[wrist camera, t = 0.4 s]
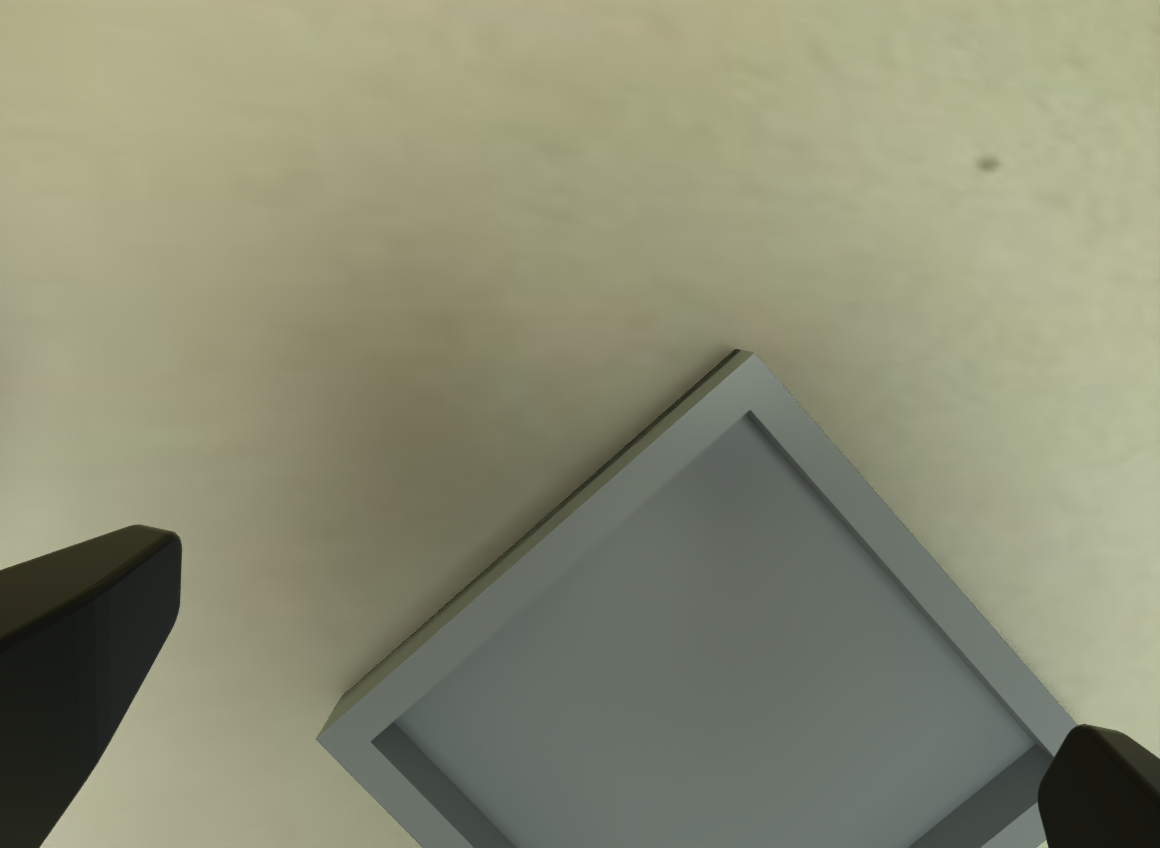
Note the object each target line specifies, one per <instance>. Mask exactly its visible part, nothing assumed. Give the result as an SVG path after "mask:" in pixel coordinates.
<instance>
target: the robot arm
mask: <svg viewBox="0 0 1160 848" xmlns="http://www.w3.org/2000/svg"><path fill="white" fill-rule="evenodd" d="M181 562H182V544H181V540H180V537H179V536H178V535H177V534H176V533H175V532H173V531H168V530H163V529H159V528H154V527H149V526H145V525H131V526H128V527H125V528H122V529H119V530H116V531H114V532H111V533H108V534H105V535H102V536H99V537H96V538H93V539H90V540H87V541H84V542H81V543H79V544H76V545H73V546H70V547H67V548H64V549H61V550H58V551H55V552H52V553H49V554H46V555H44V556H41V557H38V558H35V559H32V560H29V561H26V562H23V563H20V564H17V565H14V566H11V567H8V568H6V569H3V570H0V848H40V846H41V845H42V843H43V842H44V840H45V839H46V838H47V836H48V835H49V833H50V832H51V830H52V829H53V828H54V826H55V825H56V823H57V822H58V820H59V819H60V818H61V816H62V815H63V813H64V812H65V810H66V809H67V808H68V806H69V805H70V803H71V802H72V800H73V799H74V798H75V796H76V795H77V793H78V792H79V790H80V789H81V788H82V786H83V785H84V783H85V782H86V780H87V779H88V777H89V776H90V774H91V772H92V771H93V769H94V768H95V766H96V765H97V763H98V762H99V760H100V758H101V757H102V755H103V753H104V751H105V750H106V748H107V746H108V745H109V743H110V741H111V739H112V737H113V736H114V734H115V732H116V730H117V728H118V727H119V725H120V723H121V721H122V719H123V717H124V716H125V714H126V712H127V710H128V708H129V706H130V705H131V703H132V701H133V699H134V697H135V696H136V694H137V692H138V690H139V688H140V686H141V685H142V683H143V681H144V679H145V677H146V676H147V674H148V672H149V670H150V668H151V666H152V665H153V663H154V661H155V659H156V657H157V655H158V654H159V652H160V650H161V648H162V646H163V645H164V643H165V641H166V639H167V637H168V635H169V634H170V632H171V630H172V628H173V626H174V624H175V621H176V618H177V615H178V612H179V607H180V591H181ZM1037 799H1038V809H1039V813H1040V817H1041V821H1042V824H1043V828H1044V832H1045V836H1046V840H1047V843H1048V847H1049V848H1160V759H1159V758H1158V757H1156V756H1155V755H1154V754H1152V753H1151V752H1149V751H1148V750H1147V749H1145V748H1144V747H1143V746H1141V745H1140V744H1138V743H1137V742H1136V741H1134V740H1133V739H1131V738H1130V737H1129V736H1127V735H1125V734H1124V733H1121V732H1119V731H1116V730H1111V729H1106V728H1102V727H1097V726H1092V725H1087V724H1082V725H1077V726H1075V727H1074V728H1073V729H1071V730H1070V731H1069V733H1068V734H1067V736H1066V737H1065V739H1064V741H1063V743H1062V744H1061V746H1060V748H1059V750H1058V751H1057V753H1056V755H1055V757H1054V758H1053V760H1052V762H1051V763H1050V765H1049V767H1048V769H1047V770H1046V772H1045V774H1044V776H1043V777H1042V779H1041V782H1040V784H1039V788H1038V796H1037Z"/></svg>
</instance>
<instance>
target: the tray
mask: <svg viewBox="0 0 1160 848" xmlns="http://www.w3.org/2000/svg"><path fill="white" fill-rule="evenodd" d="M1075 726H1077V724H1076V723H1075V721H1074V720H1073V719H1072V718H1071V717H1070V716H1069V714H1068V713H1067V712H1066V711H1065V710H1064V709H1063V708H1062V706H1061V705H1060V704H1059V703H1058V702H1057V701H1056V699H1055V698H1054V697H1053V696H1052V695H1051V694H1050V693H1049V691H1048V690H1047V689H1046V688H1045V687H1044V686H1043V684H1042V683H1041V682H1040V681H1039V680H1038V679H1037V678H1036V676H1035V675H1034V674H1033V673H1032V672H1031V671H1030V669H1029V668H1028V667H1027V666H1026V665H1025V664H1024V663H1023V661H1022V660H1021V659H1020V658H1019V657H1018V656H1017V655H1016V653H1015V652H1014V651H1013V650H1012V649H1011V648H1010V646H1009V645H1008V644H1007V643H1006V642H1005V641H1004V640H1003V638H1002V637H1001V636H1000V635H999V634H998V633H997V631H996V630H995V629H994V628H993V627H992V626H991V625H990V623H989V622H988V621H987V620H986V619H985V618H984V616H983V615H982V614H981V613H980V612H979V611H978V610H977V608H976V607H975V606H974V605H973V604H972V603H971V601H970V600H969V599H968V598H967V597H966V596H965V595H964V593H963V592H962V591H961V590H960V589H959V588H958V586H957V585H956V584H955V583H954V582H953V581H952V580H951V578H950V577H949V576H948V575H947V574H946V573H945V571H944V570H943V569H942V568H941V567H940V566H939V565H938V563H937V562H936V561H935V560H934V559H933V558H932V556H931V555H930V554H929V553H928V552H927V551H926V550H925V548H924V547H923V546H922V545H921V544H920V543H919V541H918V540H917V539H916V538H915V537H914V536H913V535H912V533H911V532H910V531H909V530H908V529H907V528H906V526H905V525H904V524H903V523H902V522H901V521H900V520H899V518H898V517H897V516H896V515H895V514H894V513H893V511H892V510H891V509H890V508H889V507H888V506H887V505H886V503H885V502H884V501H883V500H882V499H881V498H880V496H879V495H878V494H877V493H876V492H875V491H874V490H873V488H872V487H871V486H870V485H869V484H868V483H867V481H866V480H865V479H864V478H863V477H862V476H861V475H860V473H859V472H858V471H857V470H856V469H855V468H854V467H853V465H852V464H851V463H850V462H849V461H848V460H847V458H846V457H845V456H844V455H843V454H842V453H841V452H840V450H839V449H838V448H837V447H836V446H835V445H834V443H833V442H832V441H831V440H830V439H829V438H828V437H827V435H826V434H825V433H824V432H823V431H822V430H821V428H820V427H819V426H818V425H817V424H816V423H815V422H814V420H813V419H812V418H811V417H810V416H809V415H808V413H807V412H806V411H805V410H804V409H803V408H802V407H801V405H800V404H799V403H798V402H797V401H796V400H795V398H794V397H793V396H792V395H791V394H790V393H789V392H788V390H787V389H786V388H785V387H784V386H783V385H782V383H781V382H780V381H779V380H778V379H777V378H776V377H775V375H774V374H773V373H772V372H771V371H770V370H769V368H768V367H767V366H766V365H765V364H764V363H763V362H762V360H761V359H760V358H759V357H758V356H757V355H756V353H754V352H749V351H743V350H738V349H735V350H734V351H733V352H732V353H731V354H730V355H729V356H727V357H726V358H725V359H724V360H723V361H722V362H721V363H719V364H718V365H717V366H716V367H715V368H714V369H713V370H712V371H710V372H709V373H708V374H707V375H706V376H705V377H704V378H702V379H701V380H700V381H699V382H698V383H697V384H696V385H695V386H693V387H692V388H691V389H690V390H689V391H688V392H687V393H685V394H684V395H683V396H682V397H681V398H680V399H679V400H678V401H676V402H675V403H674V404H673V405H672V406H671V407H670V408H668V409H667V410H666V411H665V412H664V413H663V414H662V415H661V416H659V417H658V418H657V419H656V420H655V421H654V422H653V423H651V424H650V425H649V426H648V427H647V428H646V429H645V430H644V431H642V432H641V433H640V434H639V435H638V436H637V437H636V438H634V439H633V440H632V441H631V442H630V443H629V444H628V445H627V446H625V447H624V448H623V449H622V450H621V451H620V452H619V453H617V454H616V455H615V456H614V457H613V458H612V459H611V460H610V461H608V462H607V463H606V464H605V465H604V466H603V467H602V468H600V469H599V470H598V471H597V472H596V473H595V474H594V475H593V476H591V477H590V478H589V479H588V480H587V481H586V482H585V483H583V484H582V485H581V486H580V487H579V488H578V489H577V490H576V491H574V492H573V493H572V494H571V495H570V496H569V497H568V498H566V499H565V500H564V501H563V502H562V503H561V504H560V505H559V506H557V507H556V508H555V509H554V510H553V511H552V512H551V513H549V514H548V515H547V516H546V517H545V518H544V519H543V520H542V521H540V522H539V523H538V524H537V525H536V526H535V527H534V528H532V529H531V530H530V531H529V532H528V533H527V534H526V535H525V536H523V537H522V538H521V539H520V540H519V541H518V542H517V543H516V544H514V545H513V546H512V547H511V548H510V549H509V550H508V551H506V552H505V553H504V554H503V555H502V556H501V557H500V558H499V559H497V560H496V561H495V562H494V563H493V564H492V565H491V566H489V567H488V568H487V569H486V570H485V571H484V572H483V573H482V574H480V575H479V576H478V577H477V578H476V579H475V580H474V581H472V582H471V583H470V584H469V585H468V586H467V587H466V588H465V589H463V590H462V591H461V592H460V593H459V594H458V595H457V596H455V597H454V598H453V599H452V600H451V601H450V602H449V603H448V604H446V605H445V606H444V607H443V608H442V609H441V610H440V611H438V612H437V613H436V614H435V615H434V616H433V617H432V618H431V619H429V620H428V621H427V622H426V623H425V624H424V625H423V626H421V627H420V628H419V629H418V630H417V631H416V632H415V633H414V634H412V635H411V636H410V637H409V638H408V639H407V640H406V641H404V642H403V643H402V644H401V645H400V646H399V647H398V648H397V649H395V650H394V651H393V652H392V653H391V654H390V655H389V656H387V657H386V658H385V659H384V660H383V661H382V662H381V663H380V664H378V665H377V666H376V667H375V668H374V669H373V670H372V671H370V672H369V673H368V674H367V675H366V676H365V677H364V678H363V679H361V680H360V681H359V682H358V683H357V684H356V685H355V686H353V687H352V688H351V689H350V690H349V691H348V692H347V693H346V694H344V695H343V696H342V697H341V698H340V700H339V702H338V703H337V705H336V707H335V708H334V710H333V712H332V713H331V715H330V716H329V718H328V720H327V721H326V723H325V725H324V726H323V728H322V730H321V731H320V733H319V735H318V736H317V738H316V740H317V741H318V742H319V743H320V744H321V745H322V746H323V747H324V748H325V749H326V750H327V751H328V752H329V753H330V754H331V755H332V756H333V757H334V758H335V759H336V760H337V761H338V762H339V763H340V764H341V765H342V766H343V767H344V768H345V769H346V770H347V771H348V772H349V773H350V774H351V775H352V776H353V777H354V779H355V780H356V781H357V782H358V783H359V784H360V785H361V786H362V787H363V788H364V789H365V790H366V791H367V792H368V793H369V794H370V795H371V796H372V797H373V798H374V799H375V800H376V801H377V802H378V803H379V804H380V805H381V806H382V807H383V808H384V809H385V810H386V811H387V812H388V813H389V814H390V815H391V816H392V817H393V818H394V819H395V820H396V821H397V822H398V823H399V824H400V825H401V826H402V827H403V828H404V829H405V830H406V831H407V832H408V833H409V834H410V835H411V836H412V837H413V838H414V839H415V840H416V841H417V842H418V843H419V844H420V845H421V846H422V847H423V848H1036V847H1038V846H1039V845H1040V844H1041V843H1043V842H1044V841H1045V840H1046V836H1045V832H1044V828H1043V824H1042V821H1041V817H1040V813H1039V809H1038V799H1037V796H1038V788H1039V784H1040V782H1041V779H1042V777H1043V776H1044V774H1045V772H1046V770H1047V769H1048V767H1049V765H1050V763H1051V762H1052V760H1053V758H1054V757H1055V755H1056V753H1057V751H1058V750H1059V748H1060V746H1061V744H1062V743H1063V741H1064V739H1065V737H1066V736H1067V734H1068V733H1069V731H1070V730H1071V729H1073V728H1074V727H1075Z"/></svg>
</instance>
